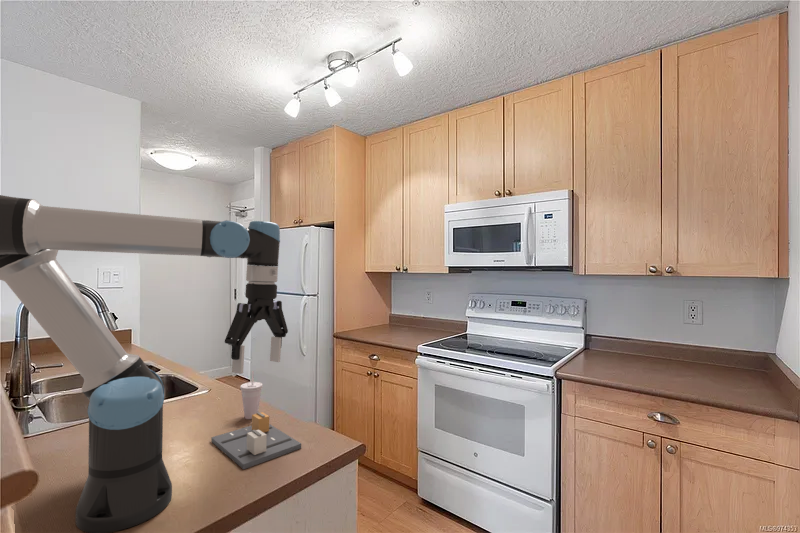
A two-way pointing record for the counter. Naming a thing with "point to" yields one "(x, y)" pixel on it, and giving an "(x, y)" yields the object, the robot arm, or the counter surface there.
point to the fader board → (237, 451)
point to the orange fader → (260, 422)
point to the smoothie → (251, 397)
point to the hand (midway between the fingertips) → (257, 366)
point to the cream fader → (256, 442)
